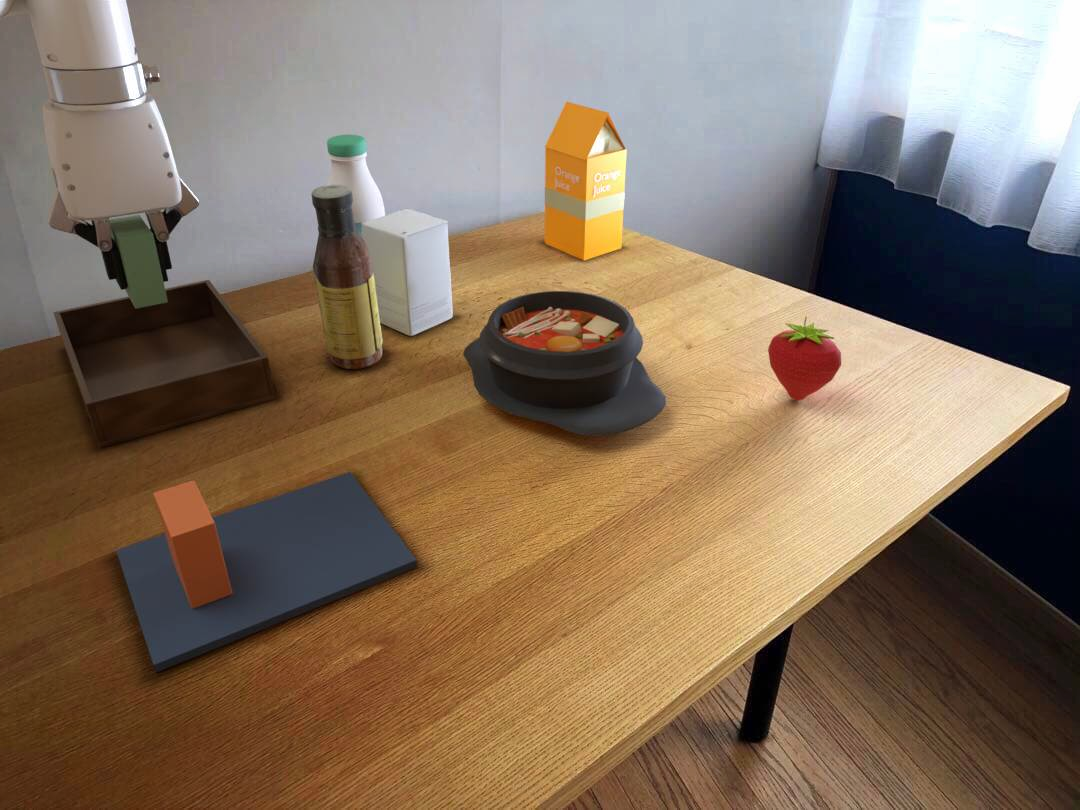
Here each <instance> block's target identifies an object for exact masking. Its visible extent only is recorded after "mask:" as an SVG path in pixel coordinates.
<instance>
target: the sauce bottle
mask: <svg viewBox="0 0 1080 810" xmlns="http://www.w3.org/2000/svg"><path fill="white" fill-rule="evenodd" d="M311 201H312V206H313V207H314V209H315V213H316V220H317V225H318V226H317V231H318V236H317V241H316V248H315V252H314V257H313V262H312V271H313V276H314V277H313V278H314V283H315V289H316V295H317V301H318V306H319V311H320V317H321V324H322V328H323V335H324V341H325V345H326V346H325V347H326V350H327V352H328V357H329V358H330V360H331V363H333V364H334V365H335V366H336V367H338V368H341V369H346V370H362V369H364V368H367V367H370V366H372V365H375V364H377V363H378V362H379V361H380V360H381V359H382V357H383V341H384V340H383V333H382V327H381V323H380V318H379V311H378V304H377V296H376V289H375V281H374V273H373V270H372V266H371V258H370V252H369V249H368V247H367V245H366V244H365V242H364V240H363V239H362V238H361V237H360V236H359V235H358V233H357V232H356V225H355V222H354V217H353V211H352V203H353V195H352V191H351V189H350V188H349V187H348V186H345V185H322V186H318V187H316V188H314V189H313V190H312V192H311Z"/></svg>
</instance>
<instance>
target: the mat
mask: <svg viewBox="0 0 1080 810" xmlns="http://www.w3.org/2000/svg"><path fill="white" fill-rule="evenodd" d="M212 518H213V520H214V523H215V526H216V530H217V534H218V538H219V542H220V546H221V550H222V554H223V558H224V562H225V566H226V570H227V574H228V578H229V582H230V586H231V590H232V594H231V595H229V596H226V597H223V598H221V599H218V600H215V601H213V602H210V603H207V604H205V605H202V606H200V607H197V608H194V609H192V608H191V606H190V603H189V601H188V598H187V596H186V593H185V591H184V588H183V585H182V583H181V580H180V578H179V575H178V573H177V570H176V568H175V565H174V563H173V559H172V556H171V553H170V549H169V546H168V542H167V539H166V536H165V533H163V534H160V535H156V536H154V537H151V538H148V539H145V540H142V541H138V542H136V543H133V544H130V545H127V546H124V547H121V548H118V549H116V550H115V551H116V554H117V558H118V560H119V564H120V566H121V570H122V573H123V576H124V579H125V583H126V585H127V588H128V591H129V595H130V598H131V600H132V603H133V607H134V610H135V613H136V616H137V619H138V622H139V625H140V629H141V632H142V635H143V637H144V641H145V644H146V647H147V650H148V653H149V656H150V659H151V662H152V666H153V668H154V671H155V672H156V673H158V672H159V673H160V672H161V671H163V670H167V669H169V668H171V667H174V666H176V665H178V664H181V663H184V662H186V661H189V660H191V659H194V658H196V657H198V656H201V655H204V654H206V653H208V652H210V651H213V650H216V649H218V648H221V647H224V646H226V645H228V644H230V643H233V642H235V641H238V640H241V639H243V638H245V637H248V636H250V635H253V634H255V633H258V632H260V631H262V630H266V629H268V628H271V627H272V626H275V625H278V624H281V623H282V622H286V621H288V620H290V619H292V618H295V617H297V616H300V615H302V614H304V613H305V614H306V613H308V612H310V611H312V610H315V609H317V608H321V607H322V606H325V605H327V604H330V603H332V602H335V601H337V600H340V599H342V598H344V597H347V596H350V595H351V594H355V593H357V592H359V591H361V590H365V589H367V588H369V587H372V586H374V585H376V584H379V583H382V582H384V581H387V580H389V579H392V578H393V577H394V578H395V577H396V576H400V575H401V574H403V573H407V572H408V571H412V570H414V569H416V568H418V562H417V561H418V560H417V558H416V557H415V556H414V554H413V553H412V552H411V550H410V549H409V548H408V546H407V545H406V544H405V542H404V541H403V540H402V538H401V537H400V535H398V533H397V532H396V531H395V529H394V528H393V527H392V525H391V523H389V521H388V520H387V519H386V517H385V516H384V515H383V513H382V512H381V510H380V509H379V508H378V507H377V505H376V504H375V503H374V501H373V500H372V499H371V498H370V496H369V495H368V493H367V492H366V491H365V489H364V488H363V486H362V485H361V484H360V483H359V481H358V480H357V479H356V477H355V476H354V475H353V473H352V472H351V471H348V472H344V473H342V474H339V475H336V476H333V477H330V478H327V479H325V480H320V481H318V482H315V483H312V484H309V485H307V486H303V487H300V488H297V489H294V490H291V491H288V492H286V493H282V494H279V495H276V496H274V497H270V498H267V499H265V500H262V501H261V500H260V501H258V502H256V503H253V504H249V505H246V506H244V507H240V508H238V509H235V510H232V511H229V512H226V513H223V514H220V515H216V516H214V517H212Z"/></svg>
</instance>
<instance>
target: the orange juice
mask: <svg viewBox="0 0 1080 810" xmlns="http://www.w3.org/2000/svg"><path fill="white" fill-rule="evenodd" d="M544 148H545V153H544V154H545V155H544V156H545V157H544V158H545V160H544V164H545V166H544V171H545V172H544V181H545V182H544V244H545V245H547V246H550V247H552V248H553V249H554V248H555V249H557V250H559V251H561V252H563V253H566V254H568V255H570V256H573V257H574V258H577V259H579V260H582V261H586V260H589V259H593V258H596V257H599V256H602V255H605V254H608V253H610V252H613V251H617V250H620V249H622V240H623V224H624V209H625V197H626V196H625V194H626V192H625V191H626V189H625V188H626V187H625V186H626V172H627V171H626V170H627V152H628V149H627V148H626V147H625V145H624V142H623V141H622V139H621V137H620V135H619V132H618V131H617V129H616V126H615V124H614V122H613V121H612V118H611V116H610V115H609V112H607V111H604V110H600V109H596V108H593V107H589V106H585V105H582V104H577V103H573V102H570V101H565V104H564V106H563V108H562V110H561V111H560V114H559V116H558V118H557V120H556V123H555V125H554V127H553V129H552V131H551V133H550V135H549V136H548V139H547V141H546V143H545V145H544Z"/></svg>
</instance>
